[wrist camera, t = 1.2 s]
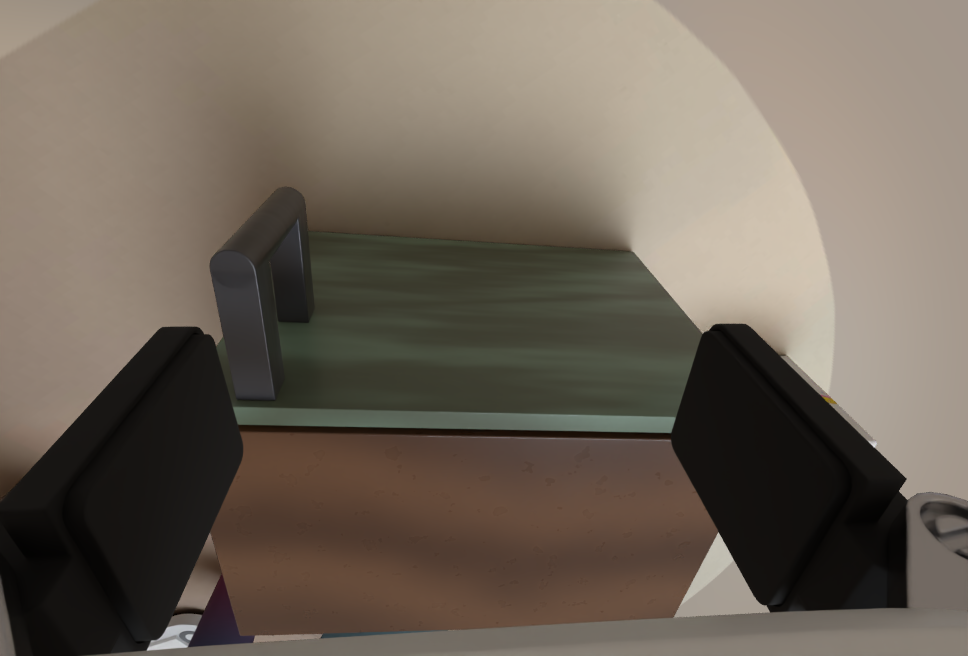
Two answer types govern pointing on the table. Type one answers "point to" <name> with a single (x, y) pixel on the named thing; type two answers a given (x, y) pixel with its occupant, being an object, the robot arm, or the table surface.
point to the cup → (218, 621)
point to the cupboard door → (442, 332)
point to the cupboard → (455, 529)
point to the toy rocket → (177, 632)
